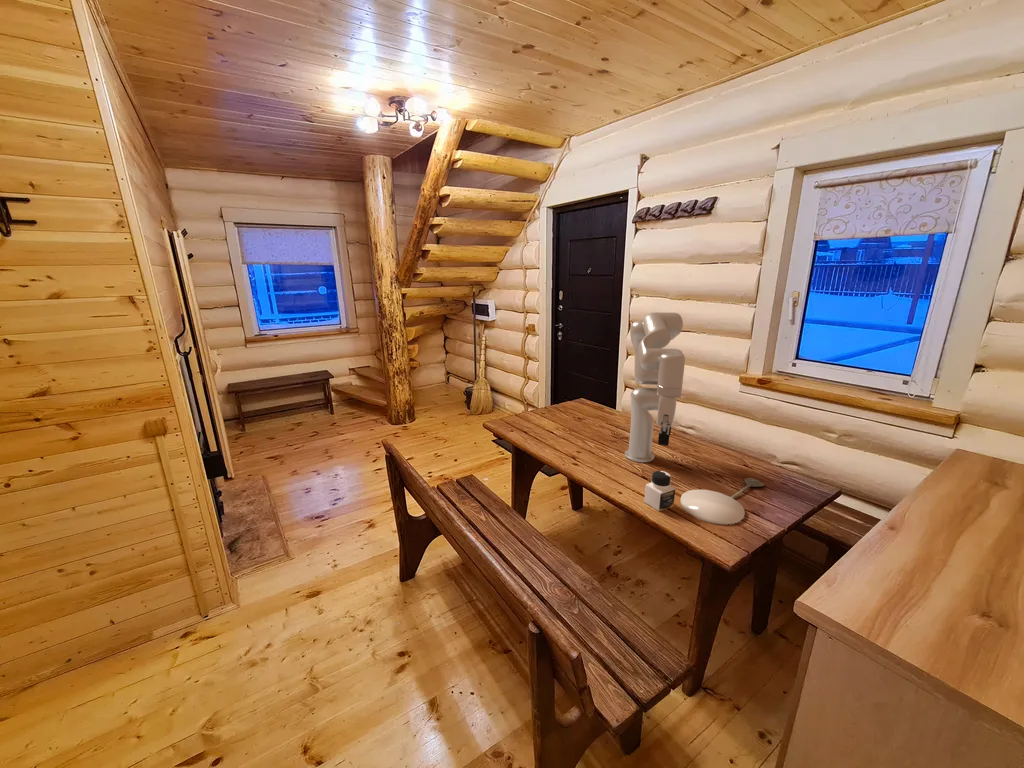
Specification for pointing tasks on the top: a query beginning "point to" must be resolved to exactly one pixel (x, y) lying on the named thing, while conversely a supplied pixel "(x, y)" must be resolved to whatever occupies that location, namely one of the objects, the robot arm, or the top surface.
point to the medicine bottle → (660, 491)
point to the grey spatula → (749, 483)
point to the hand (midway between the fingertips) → (664, 439)
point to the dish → (712, 507)
